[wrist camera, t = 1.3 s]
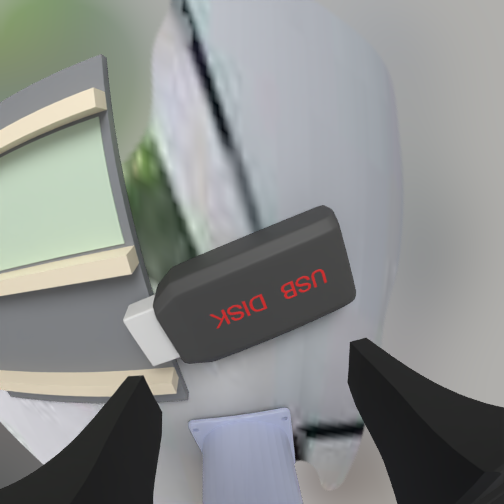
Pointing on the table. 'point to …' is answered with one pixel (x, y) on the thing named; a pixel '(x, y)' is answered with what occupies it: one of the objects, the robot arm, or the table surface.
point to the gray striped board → (69, 247)
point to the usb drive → (246, 291)
